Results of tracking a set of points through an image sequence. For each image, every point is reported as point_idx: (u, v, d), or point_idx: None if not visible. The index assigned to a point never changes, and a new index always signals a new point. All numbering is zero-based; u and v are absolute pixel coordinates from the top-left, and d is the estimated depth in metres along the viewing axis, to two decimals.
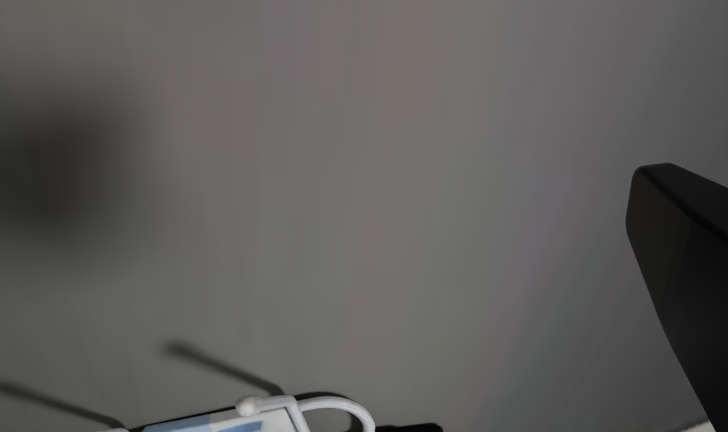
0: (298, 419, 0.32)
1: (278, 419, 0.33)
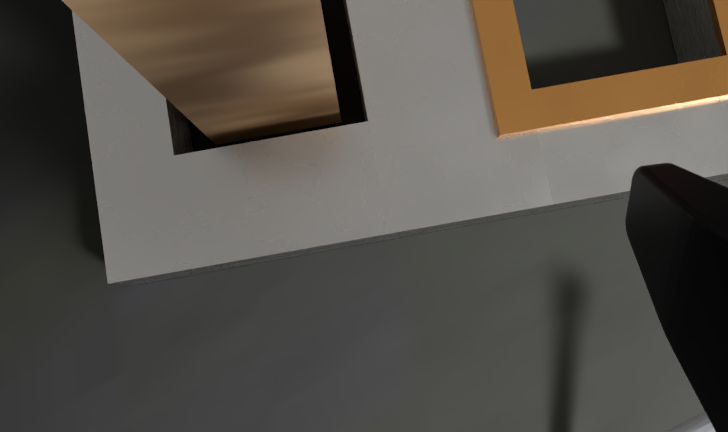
0: None
1: None
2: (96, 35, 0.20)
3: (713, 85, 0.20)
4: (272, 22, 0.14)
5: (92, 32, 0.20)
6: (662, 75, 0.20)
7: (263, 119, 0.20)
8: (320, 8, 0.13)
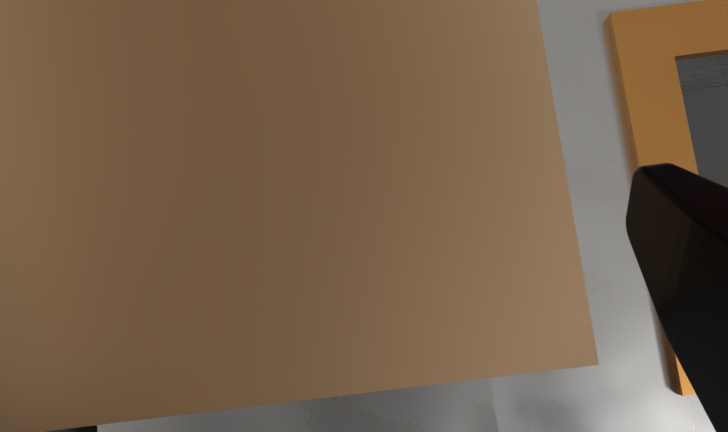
0: None
1: None
2: None
3: None
4: None
5: None
6: None
7: None
8: None
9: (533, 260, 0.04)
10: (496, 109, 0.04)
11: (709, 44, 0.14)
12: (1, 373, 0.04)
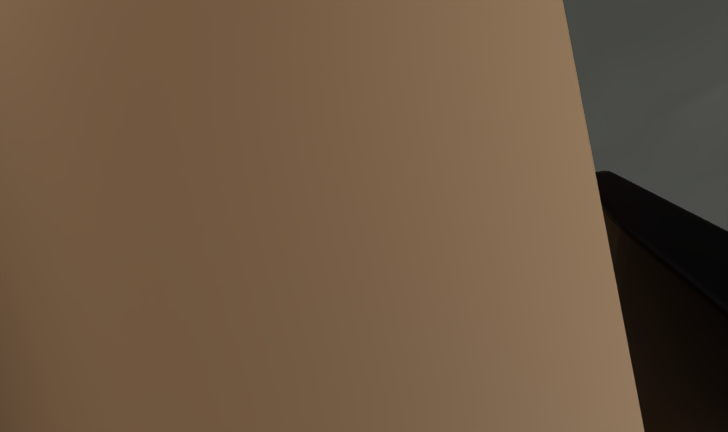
0: None
1: None
2: None
3: None
4: None
5: None
6: None
7: None
8: None
9: None
10: None
11: None
12: None
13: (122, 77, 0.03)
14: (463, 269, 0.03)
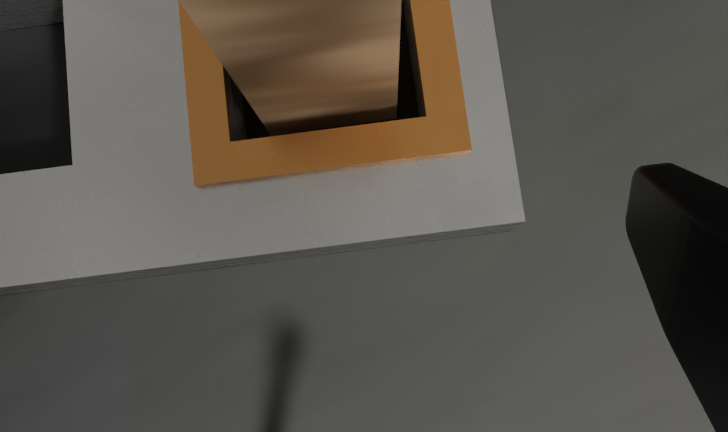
0: None
1: None
2: None
3: (409, 146, 0.20)
4: (351, 4, 0.14)
5: None
6: (360, 133, 0.20)
7: (322, 110, 0.21)
8: None
9: None
10: None
11: None
12: None
13: None
14: None
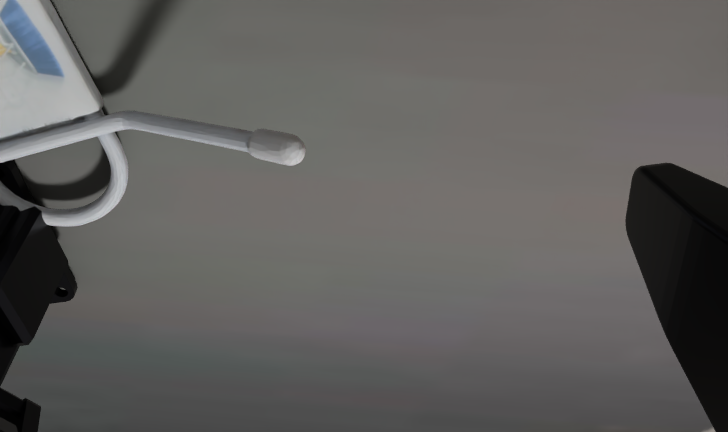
0: (90, 135, 0.20)
1: (72, 101, 0.20)
2: None
3: None
4: None
5: None
6: None
7: None
8: None
9: None
10: None
11: None
12: None
13: None
14: None
